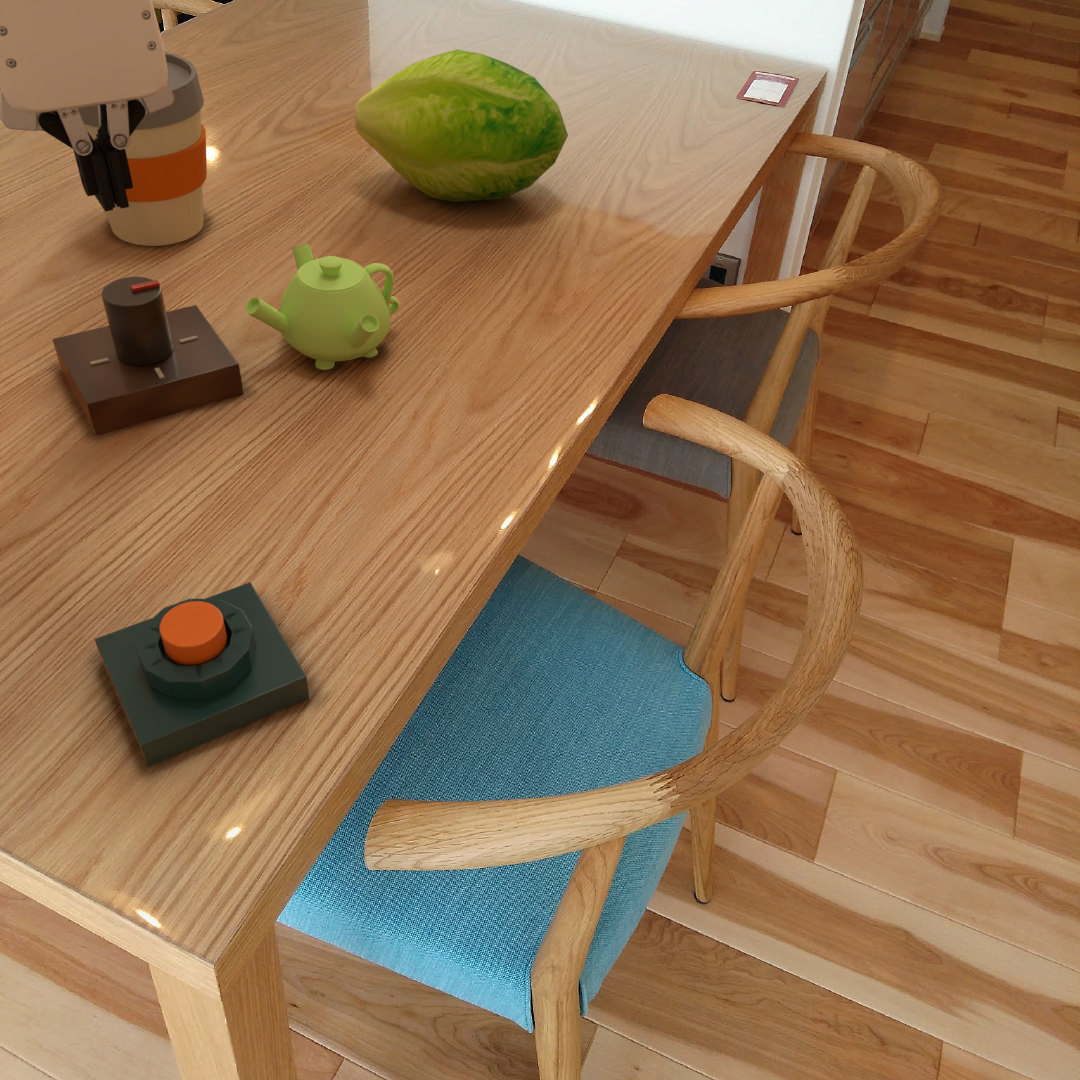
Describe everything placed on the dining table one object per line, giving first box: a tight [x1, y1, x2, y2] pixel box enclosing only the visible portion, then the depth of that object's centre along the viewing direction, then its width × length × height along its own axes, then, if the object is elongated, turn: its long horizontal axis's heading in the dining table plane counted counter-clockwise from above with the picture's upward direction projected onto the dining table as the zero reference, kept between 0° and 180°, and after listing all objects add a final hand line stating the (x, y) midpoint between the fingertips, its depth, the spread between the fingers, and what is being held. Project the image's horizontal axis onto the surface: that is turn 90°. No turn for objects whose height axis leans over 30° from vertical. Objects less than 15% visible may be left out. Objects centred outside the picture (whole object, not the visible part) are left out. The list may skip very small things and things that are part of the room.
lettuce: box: [353, 49, 569, 203], centre depth 109 cm, size 15×23×16 cm
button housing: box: [94, 581, 310, 768], centre depth 62 cm, size 10×9×4 cm
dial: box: [100, 276, 173, 366], centre depth 81 cm, size 4×4×6 cm
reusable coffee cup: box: [78, 51, 208, 247], centre depth 99 cm, size 13×13×15 cm
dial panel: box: [52, 304, 244, 435], centre depth 84 cm, size 12×10×3 cm
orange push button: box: [160, 601, 227, 665], centre depth 60 cm, size 4×4×2 cm
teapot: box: [245, 243, 400, 371], centre depth 88 cm, size 11×12×8 cm
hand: (111, 200), depth 70 cm, fingers closed
